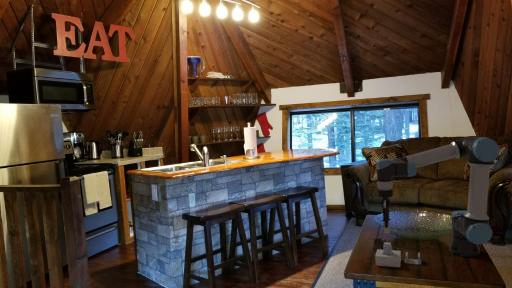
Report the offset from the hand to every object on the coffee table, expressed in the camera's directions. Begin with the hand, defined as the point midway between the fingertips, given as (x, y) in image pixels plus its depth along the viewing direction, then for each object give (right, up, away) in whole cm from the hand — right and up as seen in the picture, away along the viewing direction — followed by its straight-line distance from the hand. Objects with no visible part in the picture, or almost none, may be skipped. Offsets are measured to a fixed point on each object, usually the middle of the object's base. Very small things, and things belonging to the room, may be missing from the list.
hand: (386, 232), depth 209 cm
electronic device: (+5, -16, +20) cm, 26 cm away
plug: (+1, -15, +1) cm, 15 cm away
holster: (+14, -16, 0) cm, 21 cm away
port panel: (+1, -17, +1) cm, 17 cm away
